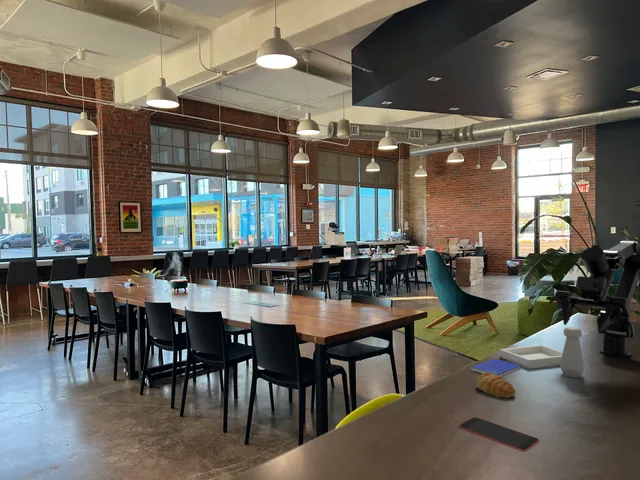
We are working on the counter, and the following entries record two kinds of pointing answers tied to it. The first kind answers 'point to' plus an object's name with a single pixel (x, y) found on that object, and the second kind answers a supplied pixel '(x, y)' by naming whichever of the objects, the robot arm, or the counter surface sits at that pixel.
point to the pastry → (495, 385)
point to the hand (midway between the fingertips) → (581, 326)
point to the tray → (532, 356)
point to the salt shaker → (572, 353)
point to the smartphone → (499, 434)
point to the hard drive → (496, 367)
